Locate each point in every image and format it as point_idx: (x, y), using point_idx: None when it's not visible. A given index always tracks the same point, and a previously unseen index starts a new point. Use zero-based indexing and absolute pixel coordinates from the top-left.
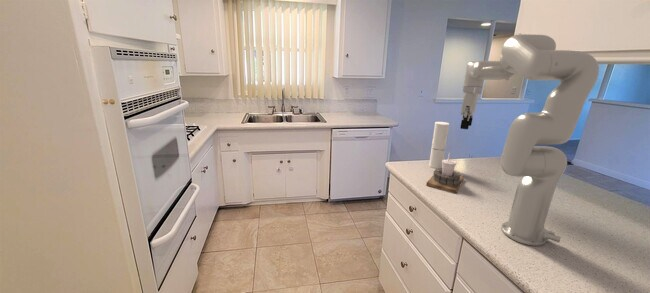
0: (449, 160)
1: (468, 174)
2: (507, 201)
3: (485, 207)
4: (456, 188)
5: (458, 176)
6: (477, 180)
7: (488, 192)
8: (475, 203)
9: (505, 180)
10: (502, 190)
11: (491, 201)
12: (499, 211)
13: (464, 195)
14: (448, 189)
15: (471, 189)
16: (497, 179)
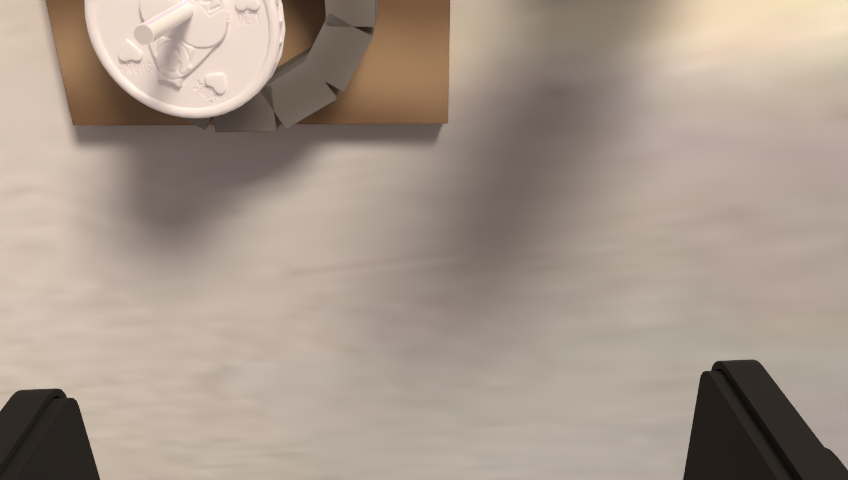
0: (221, 21)
1: (640, 124)
2: (246, 422)
3: (27, 331)
4: (115, 120)
5: (231, 122)
6: (524, 215)
7: (312, 316)
8: (31, 272)
9: (661, 383)
10: (426, 384)
11: (161, 349)
12: None
13: (106, 184)
14: (64, 57)
15: (275, 208)
16: (650, 337)
